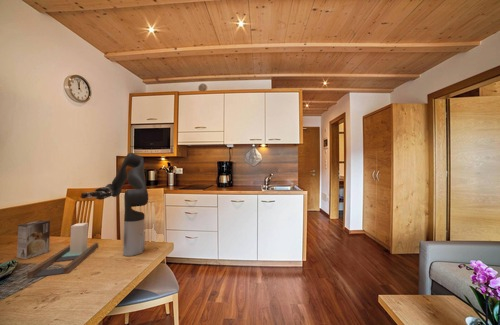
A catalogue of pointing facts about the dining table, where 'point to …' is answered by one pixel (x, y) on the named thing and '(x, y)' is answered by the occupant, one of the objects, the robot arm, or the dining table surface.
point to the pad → (71, 254)
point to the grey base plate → (55, 271)
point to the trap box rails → (60, 254)
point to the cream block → (78, 238)
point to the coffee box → (33, 239)
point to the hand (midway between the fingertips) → (91, 196)
